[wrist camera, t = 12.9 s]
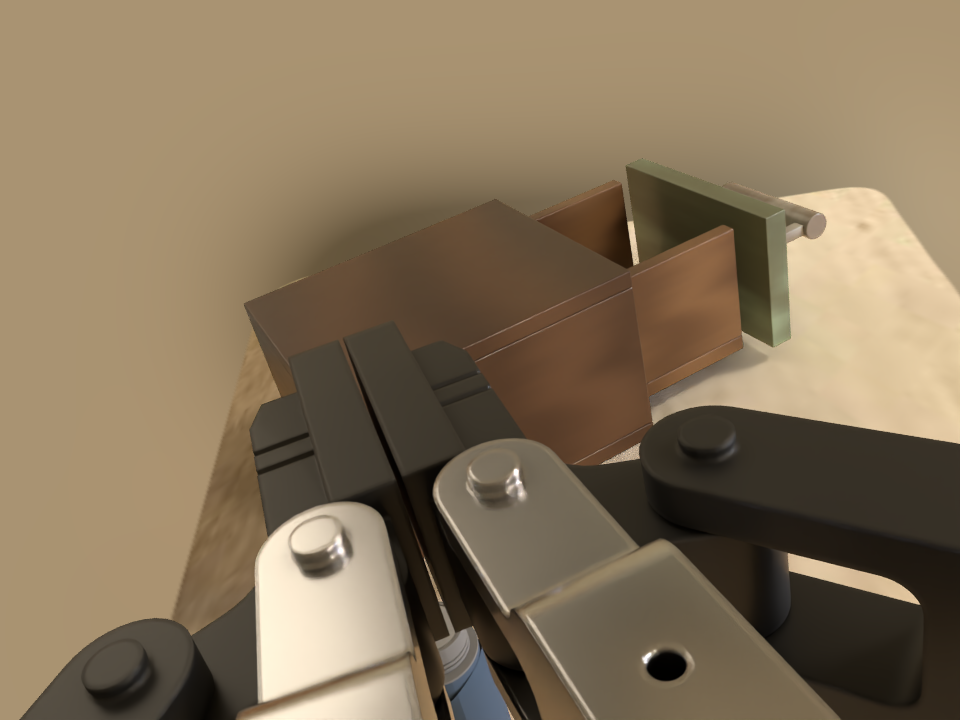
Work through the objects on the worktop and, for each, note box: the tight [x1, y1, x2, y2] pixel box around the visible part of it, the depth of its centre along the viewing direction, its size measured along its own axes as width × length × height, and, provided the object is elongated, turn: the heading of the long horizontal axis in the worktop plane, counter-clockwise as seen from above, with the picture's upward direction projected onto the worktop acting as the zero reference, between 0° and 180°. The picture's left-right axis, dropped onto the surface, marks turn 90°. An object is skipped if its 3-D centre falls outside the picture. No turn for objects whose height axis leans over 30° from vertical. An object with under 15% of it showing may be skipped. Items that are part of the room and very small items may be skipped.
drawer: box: [528, 158, 826, 396], centre depth 49 cm, size 18×11×7 cm, turn 118°
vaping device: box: [435, 602, 511, 720], centre depth 28 cm, size 3×5×12 cm, turn 68°
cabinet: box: [244, 199, 653, 557], centre depth 45 cm, size 15×13×9 cm
